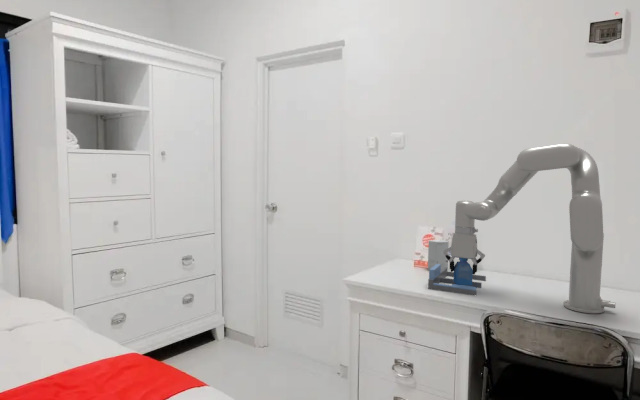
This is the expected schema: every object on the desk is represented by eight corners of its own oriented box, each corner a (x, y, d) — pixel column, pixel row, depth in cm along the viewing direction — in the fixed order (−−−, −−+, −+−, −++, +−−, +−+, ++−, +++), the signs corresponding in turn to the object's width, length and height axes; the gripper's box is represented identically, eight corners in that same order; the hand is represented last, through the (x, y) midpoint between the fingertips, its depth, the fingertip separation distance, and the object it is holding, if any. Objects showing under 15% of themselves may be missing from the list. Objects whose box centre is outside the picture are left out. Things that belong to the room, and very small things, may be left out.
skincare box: (435, 272, 207) (436, 242, 206) (427, 269, 213) (427, 240, 212) (448, 270, 211) (449, 240, 210) (439, 268, 217) (440, 239, 216)
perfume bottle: (468, 281, 182) (469, 253, 181) (472, 285, 175) (473, 256, 174) (453, 281, 182) (454, 253, 181) (456, 284, 176) (457, 256, 175)
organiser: (485, 280, 193) (486, 262, 193) (476, 295, 170) (476, 275, 169) (443, 275, 202) (443, 258, 202) (428, 288, 179) (428, 270, 178)
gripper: (488, 231, 176) (486, 273, 178) (445, 228, 185) (443, 268, 186) (485, 233, 170) (483, 277, 171) (441, 230, 178) (439, 271, 179)
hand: (463, 272), depth 178 cm, fingers closed on perfume bottle, 8 cm apart
